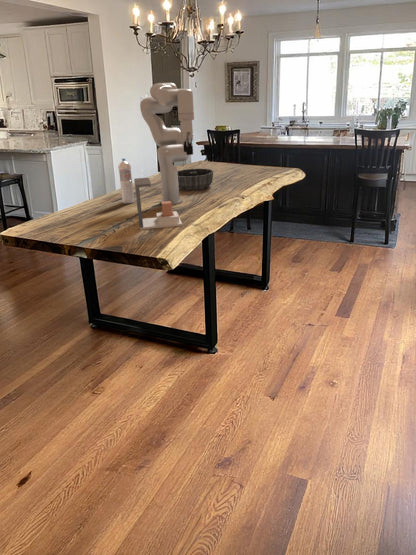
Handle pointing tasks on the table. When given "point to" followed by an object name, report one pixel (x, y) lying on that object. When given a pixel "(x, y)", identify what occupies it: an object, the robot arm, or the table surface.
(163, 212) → the peg
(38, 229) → the table surface
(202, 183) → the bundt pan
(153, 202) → the table surface
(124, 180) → the water bottle
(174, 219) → the socket stand
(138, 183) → the grey l-shaped bracket
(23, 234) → the table surface
